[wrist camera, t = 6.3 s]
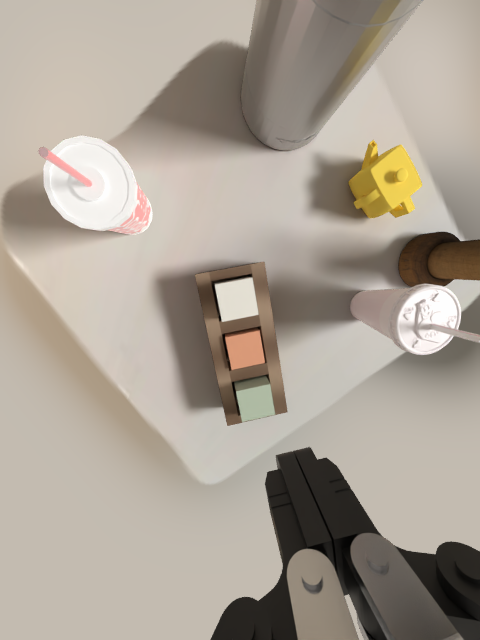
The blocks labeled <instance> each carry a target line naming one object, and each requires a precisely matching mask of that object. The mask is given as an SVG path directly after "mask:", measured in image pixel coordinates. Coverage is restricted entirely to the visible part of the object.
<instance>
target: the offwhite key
mask: <svg viewBox="0 0 480 640" xmlns="http://www.w3.org/2000/svg"><path fill="white" fill-rule="evenodd" d="M214 284H215V289H216V294H217V299H218V304H219V309H220V314H221V319H222V322H225V321H230V320H235V319H240V318H245V317H250V316H255V315H259V314H258V308H257V302H256V296H255V290H254V284H253V278H252V277H243V278H238V279H233V280H227V281H222V282H217V283H214Z"/></svg>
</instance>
